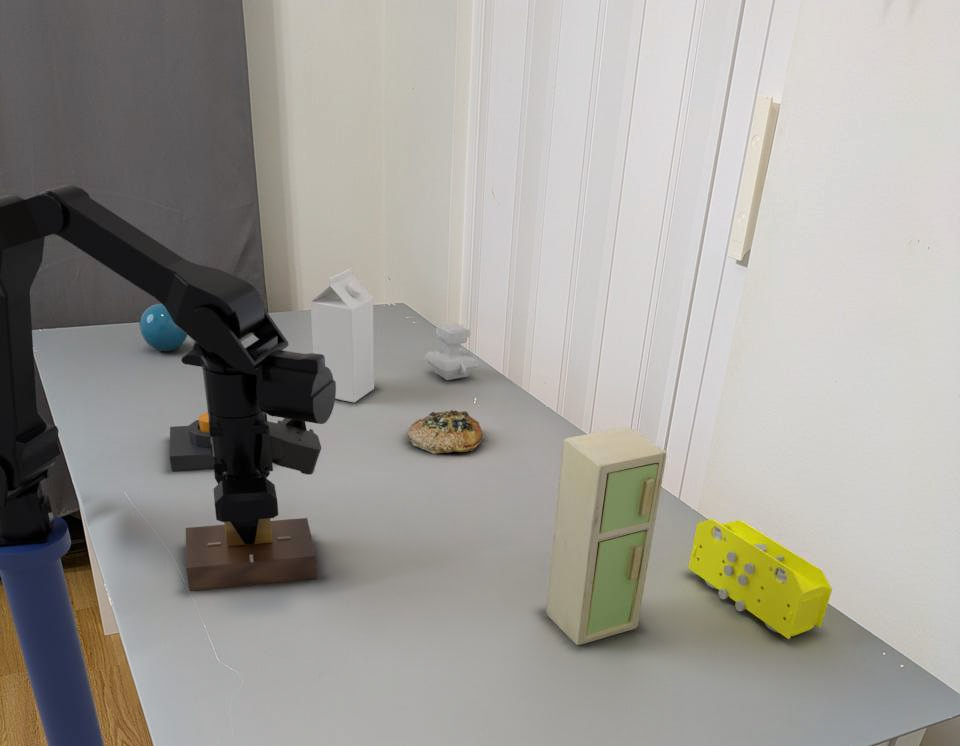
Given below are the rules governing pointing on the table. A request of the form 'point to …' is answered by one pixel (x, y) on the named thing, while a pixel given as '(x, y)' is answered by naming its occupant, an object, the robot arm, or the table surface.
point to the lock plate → (249, 557)
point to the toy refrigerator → (603, 532)
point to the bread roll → (446, 432)
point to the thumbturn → (261, 535)
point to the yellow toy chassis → (760, 576)
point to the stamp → (452, 353)
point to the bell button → (204, 422)
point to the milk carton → (345, 335)
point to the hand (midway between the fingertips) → (249, 537)
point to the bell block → (190, 448)
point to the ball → (161, 329)
